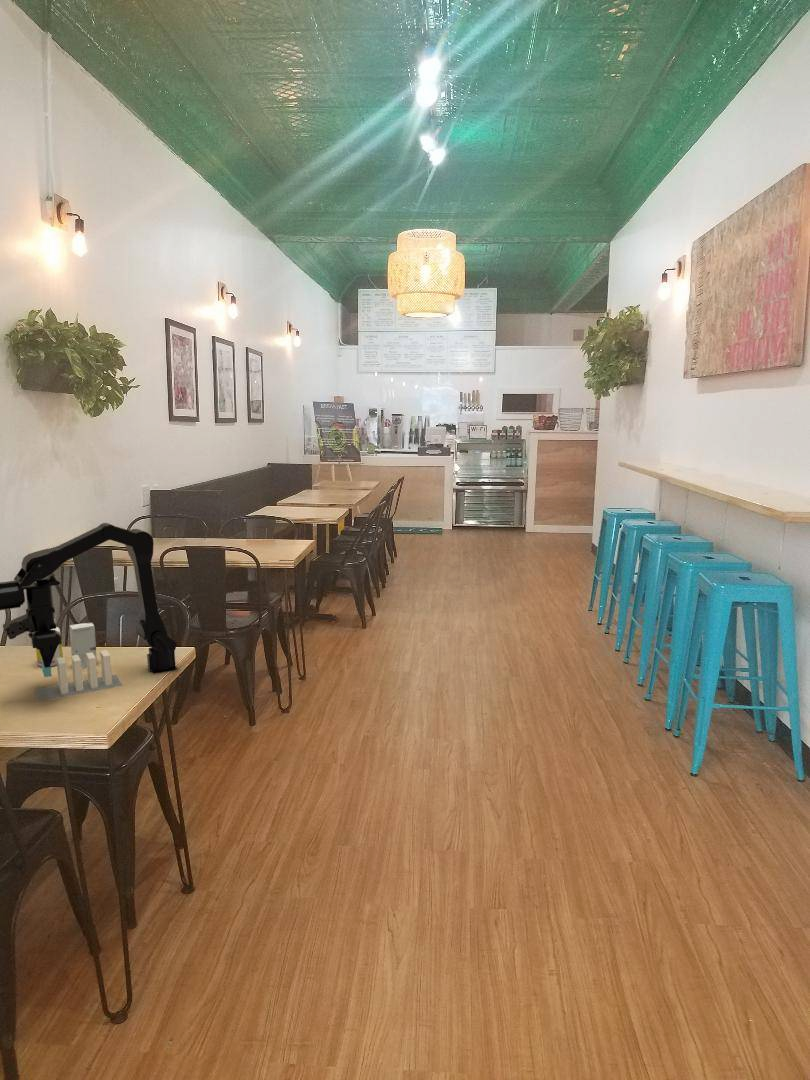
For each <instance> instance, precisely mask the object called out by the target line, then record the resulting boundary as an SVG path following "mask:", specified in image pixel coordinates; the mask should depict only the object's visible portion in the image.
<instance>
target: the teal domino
mask: <svg viewBox="0 0 810 1080" xmlns="http://www.w3.org/2000/svg"><path fill="white" fill-rule="evenodd" d="M41 661H42V666H41V670H42V673H43V677H44V678H48V677H53V676H52V674H53V673H52V666H51V665H50V667H47V668H45V666H44V663H43V660H42V657H41Z"/></svg>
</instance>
